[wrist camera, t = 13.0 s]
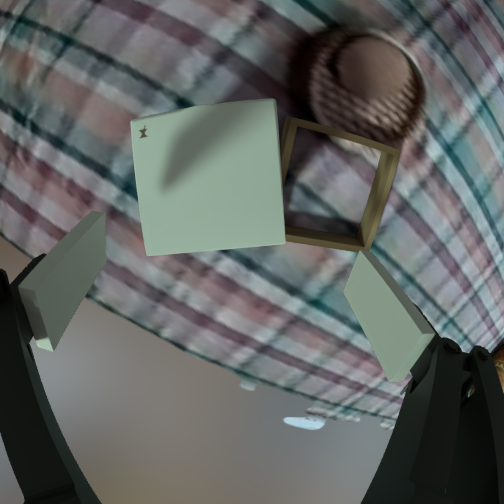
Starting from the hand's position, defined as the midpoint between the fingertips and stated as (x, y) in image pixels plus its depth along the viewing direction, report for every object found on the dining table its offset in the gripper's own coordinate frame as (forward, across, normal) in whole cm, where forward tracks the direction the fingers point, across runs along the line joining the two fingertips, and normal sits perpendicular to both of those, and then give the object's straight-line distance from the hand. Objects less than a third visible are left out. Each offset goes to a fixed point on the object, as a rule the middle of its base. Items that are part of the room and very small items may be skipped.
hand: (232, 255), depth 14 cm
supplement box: (+18, 0, -1) cm, 18 cm away
